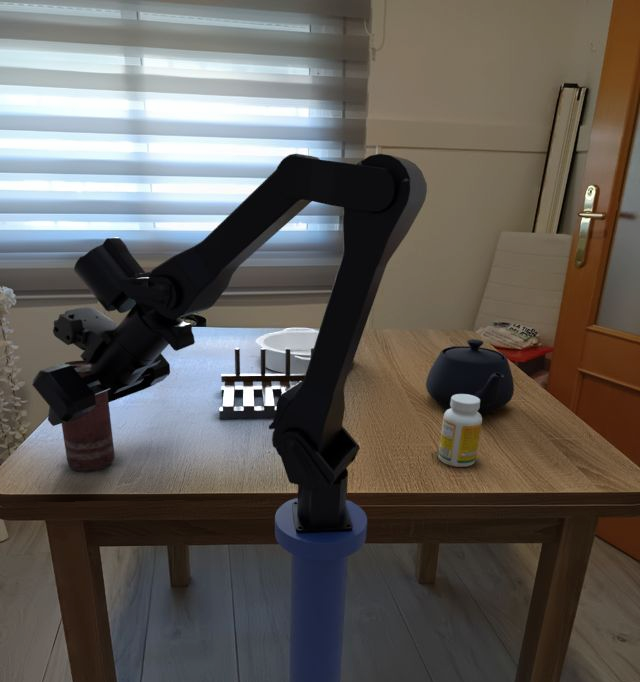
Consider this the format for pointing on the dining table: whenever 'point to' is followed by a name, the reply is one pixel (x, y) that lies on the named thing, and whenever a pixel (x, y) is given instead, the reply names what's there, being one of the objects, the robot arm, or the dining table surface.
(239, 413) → the dish rack
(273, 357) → the pot
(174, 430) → the dining table surface
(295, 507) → the robot arm
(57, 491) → the dining table surface
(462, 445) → the supplement bottle
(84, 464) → the can
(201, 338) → the dining table surface
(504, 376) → the teapot
